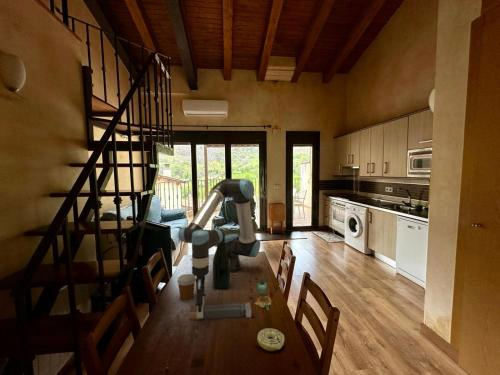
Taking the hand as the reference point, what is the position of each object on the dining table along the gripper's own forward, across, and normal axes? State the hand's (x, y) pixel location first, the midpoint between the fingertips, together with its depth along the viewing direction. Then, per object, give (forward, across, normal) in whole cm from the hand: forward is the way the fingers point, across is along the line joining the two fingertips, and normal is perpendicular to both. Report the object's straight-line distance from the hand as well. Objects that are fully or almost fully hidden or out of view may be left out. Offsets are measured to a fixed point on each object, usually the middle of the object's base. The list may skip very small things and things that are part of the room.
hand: (200, 313), depth 112 cm
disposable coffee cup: (+2, -17, -9) cm, 19 cm away
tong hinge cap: (+1, 0, +22) cm, 22 cm away
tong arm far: (+1, -1, +8) cm, 8 cm away
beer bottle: (+2, -29, +9) cm, 31 cm away
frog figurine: (+2, -10, +30) cm, 32 cm away
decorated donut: (+2, +19, +29) cm, 35 cm away
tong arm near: (+1, +1, +8) cm, 8 cm away
